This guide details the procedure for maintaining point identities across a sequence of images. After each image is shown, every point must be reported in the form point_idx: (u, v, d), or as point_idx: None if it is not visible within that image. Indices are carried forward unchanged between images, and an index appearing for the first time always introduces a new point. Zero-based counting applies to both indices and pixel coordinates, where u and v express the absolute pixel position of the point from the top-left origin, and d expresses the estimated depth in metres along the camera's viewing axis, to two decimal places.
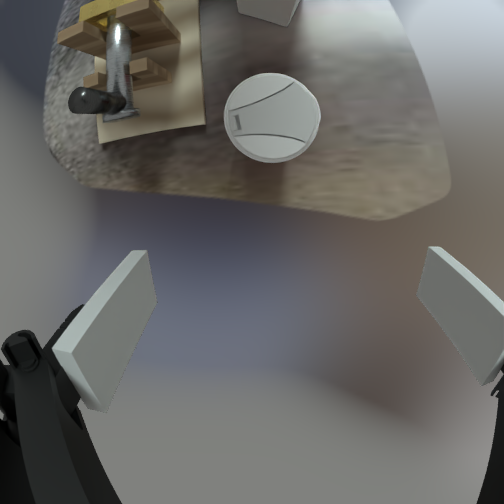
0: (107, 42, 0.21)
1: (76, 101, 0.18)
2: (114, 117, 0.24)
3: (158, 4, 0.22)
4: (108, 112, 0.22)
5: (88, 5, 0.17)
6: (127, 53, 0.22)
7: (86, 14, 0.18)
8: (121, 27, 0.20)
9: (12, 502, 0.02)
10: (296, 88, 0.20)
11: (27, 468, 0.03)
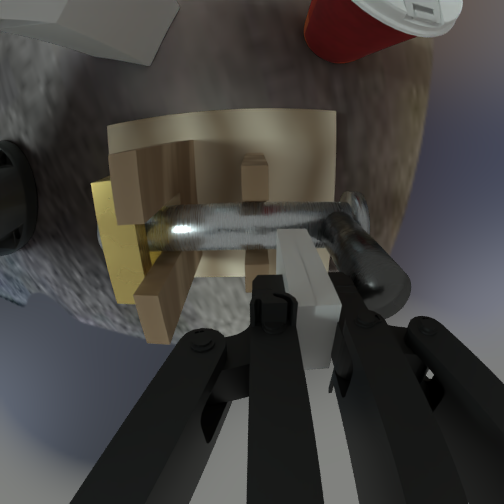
0: (206, 247, 0.17)
1: (383, 301, 0.10)
2: (367, 233, 0.16)
3: None
4: None
5: (117, 288, 0.17)
6: (239, 207, 0.17)
7: None
8: (180, 220, 0.17)
9: None
10: None
11: (251, 433, 0.04)
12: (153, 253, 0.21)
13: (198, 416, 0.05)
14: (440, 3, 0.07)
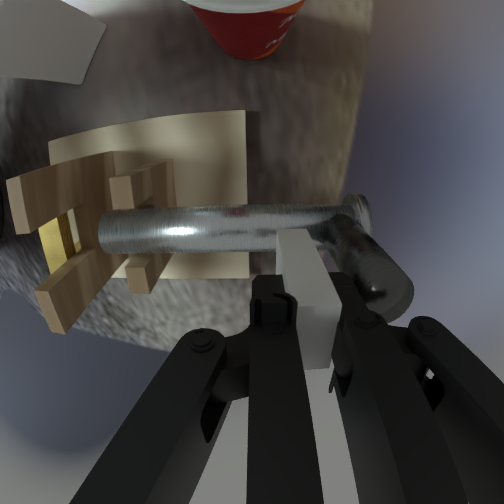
0: (207, 249, 0.17)
1: (387, 305, 0.10)
2: (370, 236, 0.16)
3: None
4: None
5: (51, 268, 0.19)
6: (242, 209, 0.17)
7: None
8: (182, 222, 0.17)
9: None
10: None
11: (250, 433, 0.04)
12: None
13: (198, 416, 0.05)
14: None
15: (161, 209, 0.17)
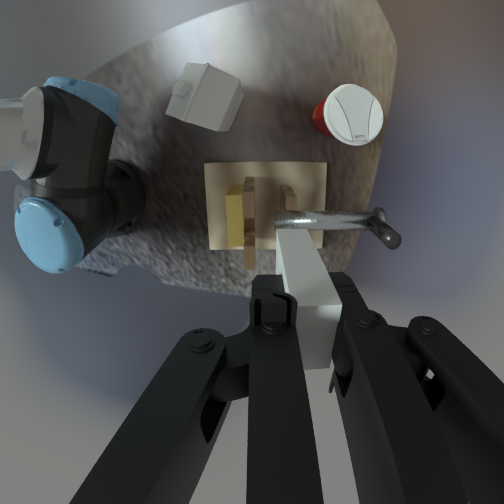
0: (324, 228, 0.41)
1: (393, 243, 0.34)
2: None
3: (232, 187, 0.46)
4: None
5: (230, 239, 0.43)
6: (337, 213, 0.41)
7: (239, 240, 0.43)
8: (315, 217, 0.41)
9: None
10: (339, 96, 0.29)
11: (250, 433, 0.04)
12: None
13: (198, 416, 0.05)
14: (369, 130, 0.31)
15: (304, 211, 0.41)
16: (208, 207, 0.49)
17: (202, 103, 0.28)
